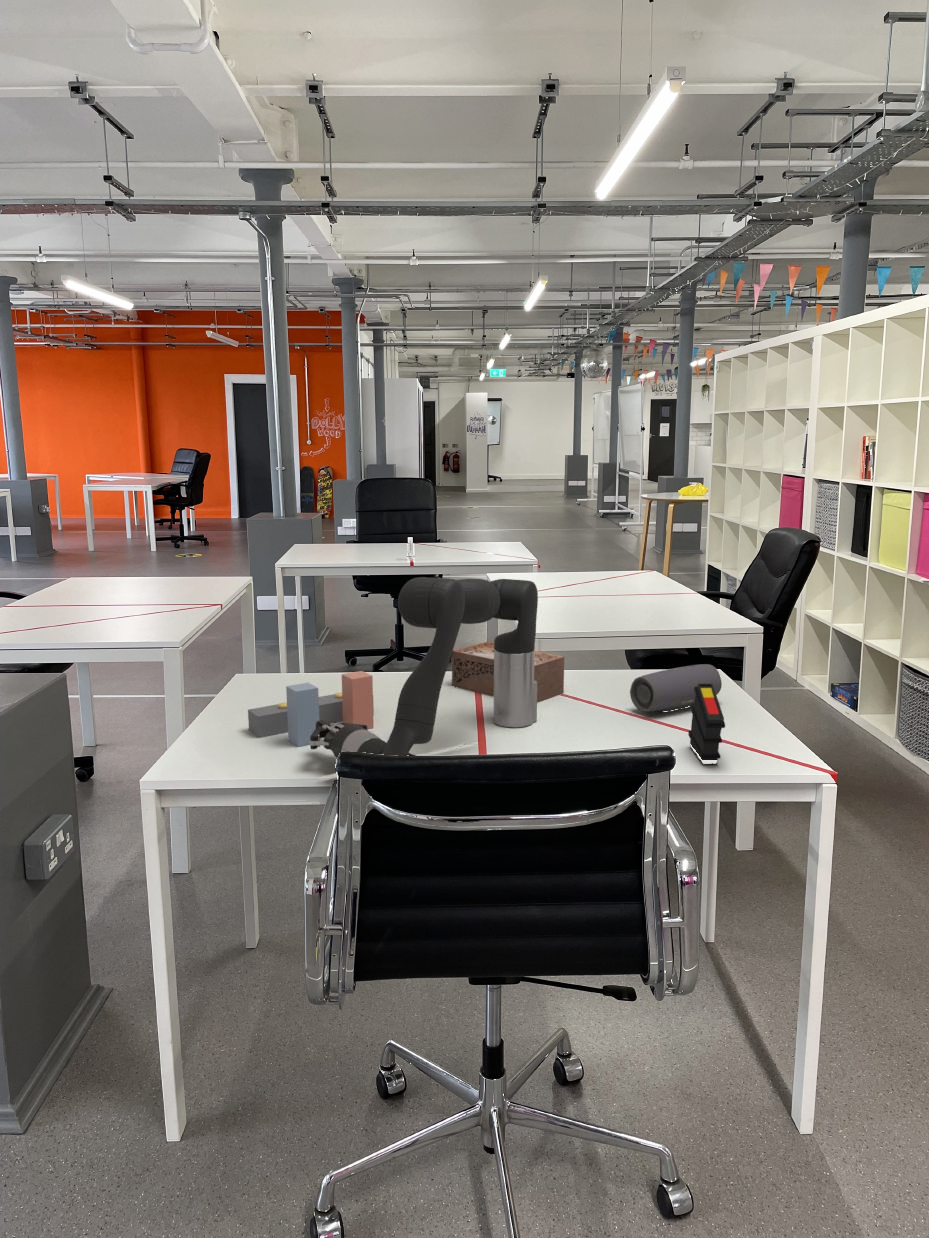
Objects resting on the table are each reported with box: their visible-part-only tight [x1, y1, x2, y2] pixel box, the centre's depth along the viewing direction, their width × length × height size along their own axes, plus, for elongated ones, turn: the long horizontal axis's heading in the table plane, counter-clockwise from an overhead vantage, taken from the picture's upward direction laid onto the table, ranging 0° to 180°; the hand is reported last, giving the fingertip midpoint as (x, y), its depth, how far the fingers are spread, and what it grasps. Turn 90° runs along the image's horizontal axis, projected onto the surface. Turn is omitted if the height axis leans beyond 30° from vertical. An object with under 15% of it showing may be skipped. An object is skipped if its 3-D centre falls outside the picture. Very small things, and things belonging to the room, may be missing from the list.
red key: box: [341, 670, 375, 730], centre depth 198 cm, size 5×5×12 cm
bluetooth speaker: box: [629, 663, 722, 712], centre depth 216 cm, size 23×9×10 cm, turn 123°
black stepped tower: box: [688, 683, 726, 761], centre depth 183 cm, size 4×13×15 cm, turn 0°
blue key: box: [285, 682, 320, 748], centre depth 188 cm, size 5×5×12 cm
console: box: [247, 692, 375, 739], centre depth 196 cm, size 28×19×7 cm
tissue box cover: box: [451, 641, 565, 704], centre depth 231 cm, size 26×14×10 cm, turn 48°
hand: (319, 725), depth 182 cm, fingers closed
